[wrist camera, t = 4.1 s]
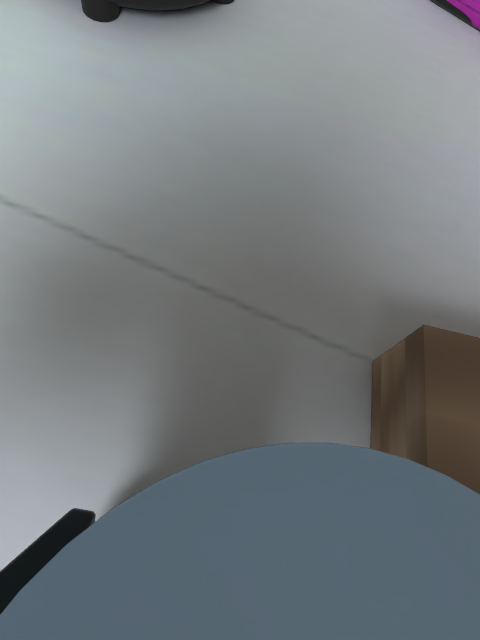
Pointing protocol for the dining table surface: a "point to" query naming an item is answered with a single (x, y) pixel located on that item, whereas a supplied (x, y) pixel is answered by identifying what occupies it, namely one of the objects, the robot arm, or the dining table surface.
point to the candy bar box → (463, 10)
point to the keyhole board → (430, 403)
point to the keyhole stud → (270, 555)
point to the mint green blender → (134, 6)
